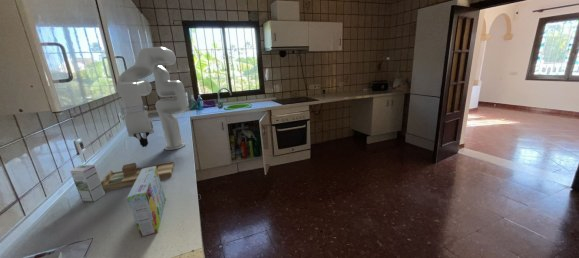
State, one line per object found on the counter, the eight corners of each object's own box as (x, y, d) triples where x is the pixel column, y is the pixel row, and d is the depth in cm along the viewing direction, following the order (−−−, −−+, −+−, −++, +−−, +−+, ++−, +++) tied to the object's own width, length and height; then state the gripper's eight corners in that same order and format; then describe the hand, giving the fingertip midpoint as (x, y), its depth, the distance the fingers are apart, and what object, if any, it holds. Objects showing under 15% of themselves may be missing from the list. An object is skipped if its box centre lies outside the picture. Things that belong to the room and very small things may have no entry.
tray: (113, 177, 116) (110, 170, 115) (174, 165, 125) (172, 158, 124) (102, 191, 104) (99, 183, 103) (171, 177, 113) (169, 169, 111)
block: (125, 172, 117) (123, 165, 115) (137, 169, 119) (135, 162, 117) (124, 176, 112) (121, 168, 111) (136, 173, 114) (134, 166, 113)
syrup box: (105, 194, 101) (95, 163, 97) (93, 202, 96) (82, 170, 91) (93, 194, 102) (83, 164, 98) (81, 202, 96) (69, 170, 92)
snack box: (150, 202, 93) (141, 168, 88) (166, 198, 95) (157, 164, 90) (139, 238, 74) (125, 196, 69) (158, 232, 76) (147, 192, 71)
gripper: (154, 105, 114) (163, 140, 120) (118, 110, 110) (129, 146, 115) (151, 108, 107) (160, 145, 113) (113, 113, 103) (125, 151, 108)
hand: (145, 146), depth 114 cm, fingers closed
